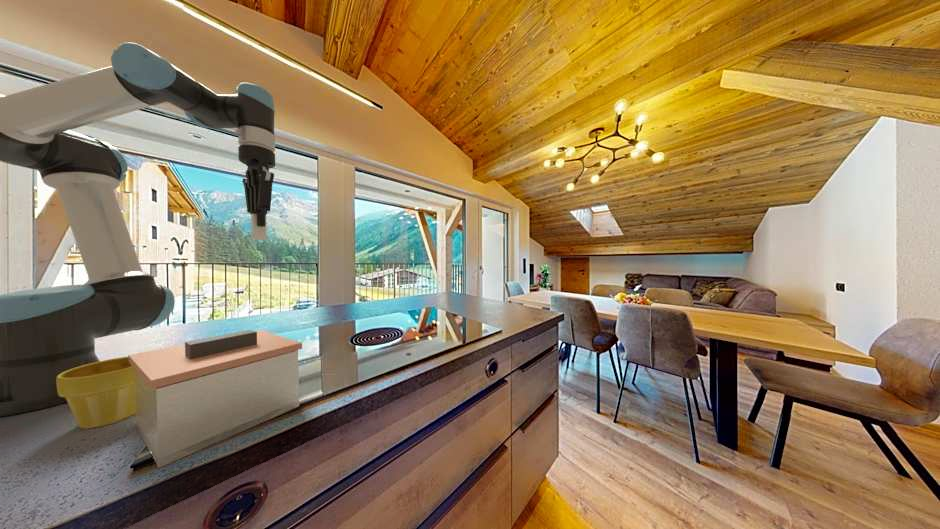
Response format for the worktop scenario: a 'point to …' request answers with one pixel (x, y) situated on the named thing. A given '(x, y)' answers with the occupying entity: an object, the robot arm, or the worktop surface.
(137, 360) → the lid
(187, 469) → the worktop surface
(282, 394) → the box body
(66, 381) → the plant pot
